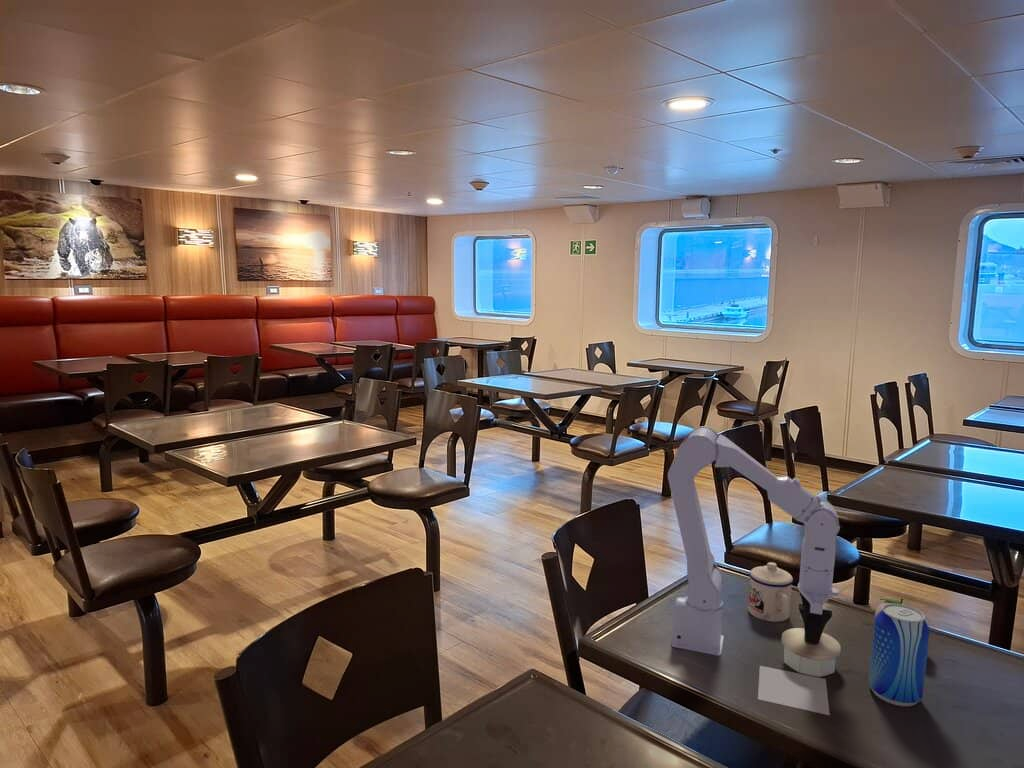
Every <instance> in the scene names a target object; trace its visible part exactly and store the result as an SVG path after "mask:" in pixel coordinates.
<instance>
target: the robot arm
mask: <svg viewBox="0 0 1024 768" xmlns="http://www.w3.org/2000/svg"><path fill="white" fill-rule="evenodd" d="M713 462H715V464H714V468H732V469H734V470H735V471H737V472H738V473H739V474H741V475H743V476H744V477H746V478H747V479H749V480H750V481H752V482H753V483H755V484H756V485H758V486H759V487H761V488H762V489H764V490H766V492H767V493H766V494H767V499H768V501H770V502H771V503H773V504H774V505H775V506H777V507H778V508H779V509H781V510H782V511H783V512H785V513H786V514H788V516H790V517H792V518H793V519H794V520H796V521H797V522H801V523H803V525H804V537H803V539H802V542H801V543H802V544H801V555H800V569H799V581H798V583H797V590H798V593H799V595H800V597H801V603H798V611H799V613H800V616H801V618H802V622H803V627H804V630H805V638H806V642H808V643H814V644H818V643H819V641H820V638H821V635H822V633H824V632H823V631H824V629H825V628H826V627H825V626H826V625H827V624H828V623H829V621H830V620H831V618H832V617H833V611H832V610H829V609H825V608H824V605H825V604H826V603H827V602H828V600H830V599H831V598H832V597H833V596H834V597H838V596H839V594H840V593H839V589H837V588H834V587H833V579H834V571H835V570H834V569H835V561H836V559H835V557H836V548H837V547H836V540H837V535H838V533H839V531H840V529H841V526H840V521H839V516H838V513H837V511H836V508H835V507H834V505H832V503H830V501H829V500H827V499H824V498H823V497H822V496H820V495H819V494H818V495H814V493H811V492H810V491H809V490H808V489H806V488H805V487H803V486H802V485H801V481H800V480H799V479H798V478H796V477H793V478H791V477H789V476H785V475H784V476H777V475H775V474H774V473H773V472H772V471H770V470H769V469H768V468H767V467H765V466H764V465H762V464H761V463H760V462H759V461H757V460H756V459H755V458H754V457H752V456H751V455H749V454H748V453H747V452H746V451H745V450H744V449H742V448H741V447H739V446H738V445H737V444H735V443H734V442H733V441H732V440H731V439H729V438H728V437H726V436H725V435H723V434H721V433H720V434H718V432H717V431H715V430H714V429H713V428H712V427H710V426H703V425H702V426H697V427H695V428H693V430H691V431H690V433H688V434H687V436H686V437H685V438H683V440H682V442H681V444H680V445H679V447H678V448H677V450H676V453H675V456H674V458H673V460H672V463H671V465H670V467H669V469H668V472H667V479H668V483H669V489H670V492H671V495H672V497H671V498H672V500H673V506H674V510H675V514H676V518H677V519H676V520H677V522H678V527H679V531H680V536H681V541H682V545H683V549H684V553H685V557H686V573H687V574H686V575H687V576H686V577H687V579H688V584H687V588H686V596H684V597H683V596H677V597H676V600H675V603H674V608H673V609H674V610H673V624H672V642H671V646H672V647H673V648H676V649H682V650H688V651H693V652H699V653H703V654H708V655H713V656H722V650H723V644H724V639H725V637H724V635H723V634H722V629H723V628H722V625H723V609H724V601H723V599H722V597H721V590H722V586H723V585H724V584H723V583H724V575H723V571H721V569H720V568H719V567H718V566H717V563H716V560H715V557H714V554H713V553H712V552H711V548H710V543H709V538H708V534H707V530H706V527H705V522H704V516H703V512H702V509H701V504H700V500H699V495H698V491H697V486H696V482H695V478H696V477H697V475H698V474H699V473H700V471H702V470H704V469H705V468H707V467H708V466H710V465H711V464H712V463H713Z"/></svg>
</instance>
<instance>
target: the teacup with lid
mask: <svg viewBox="0 0 1024 768" xmlns="http://www.w3.org/2000/svg"><path fill="white" fill-rule="evenodd" d="M748 575H749V591H748V604H747V610H748V612H749V613H750V614H751V616H754V617H755V618H756V619H758V620H759V619H760V620H762V621H766V622H770V623H771V622H773V623H781V622H785V621H786V620H788V619H789V617H790V610H791V597H792V586H793V583H794V578H793V576H792V575H791V574H790V573H789V572H788V571H786V570H784V569H782V568H780V567H778V566H777V563H776V562H767V564H766V565H763V566H756V567H754V568H752V569H750V571H749V574H748Z"/></svg>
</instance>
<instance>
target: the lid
mask: <svg viewBox="0 0 1024 768" xmlns="http://www.w3.org/2000/svg"><path fill="white" fill-rule="evenodd" d="M781 644H782V645H783V647H784V648H785V647H786V648H787V649H788V650H789V651H791V652H793V653H795V654H797V655H799V656H802V657H805V658H809V659H814V660H831V659H835V658H836V659H837V658H838V657H839V656H841V655H840V654H841V651H842V650H841V647H842V646H841V644H840V643H839V642H838V640H837V639H835V638H834V637H833V636H831V635H829V634H827V633H825V632H822V635H821V638H820V641H819V643H818V644H814V643H808V642H806V638H805V630H804V628H803V627H794V628H790V629H786V630H785V631H783V632H782V634H781Z"/></svg>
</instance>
